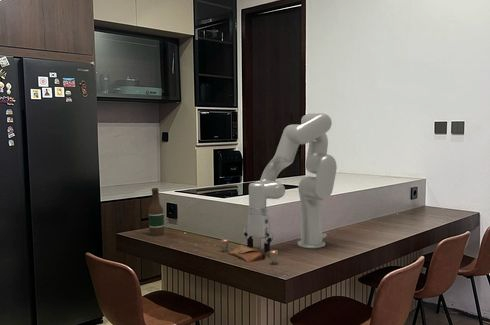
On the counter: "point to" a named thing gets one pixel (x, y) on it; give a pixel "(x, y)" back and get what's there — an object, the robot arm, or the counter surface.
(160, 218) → the beer bottle
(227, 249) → the line post
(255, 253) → the sunglasses case
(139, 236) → the counter surface
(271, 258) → the line post
